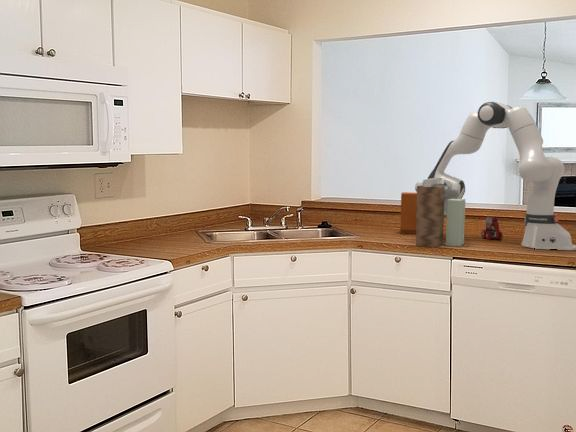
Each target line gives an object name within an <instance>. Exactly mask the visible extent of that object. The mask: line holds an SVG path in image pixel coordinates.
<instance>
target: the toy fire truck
mask: <svg viewBox="0 0 576 432" xmlns="http://www.w3.org/2000/svg"><path fill="white" fill-rule="evenodd" d="M485 220H486V221H485V222H486V224H485V225H486V226H485V229H483V230H481V235H480V236H481V238H482V239H486V240H487V241H490V240H492V239H496V240H497V241H501V240H502V239H503V232H502V231H500V224H499V222H498V221H499V219H498V218H497V217H493V216H489V215H488V216H486V218H485Z"/></svg>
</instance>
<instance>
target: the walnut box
mask: <svg viewBox="0 0 576 432" xmlns="http://www.w3.org/2000/svg"><path fill="white" fill-rule="evenodd" d="M444 192H445V186H433V187H424V185H420V186H417V192H416V193H417V212H416V235H415V246H418V247H433V248H437V247H438V248H439V247H441V246H442V245H444V223H445V222H444V219H445V217H444V216H445V215H444Z"/></svg>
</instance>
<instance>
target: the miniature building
mask: <svg viewBox="0 0 576 432" xmlns="http://www.w3.org/2000/svg"><path fill="white" fill-rule="evenodd" d="M416 212H417V192H401V194H400V230H399V234H401V235H415V236H416Z"/></svg>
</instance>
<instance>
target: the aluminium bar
mask: <svg viewBox="0 0 576 432" xmlns="http://www.w3.org/2000/svg"><path fill="white" fill-rule="evenodd" d="M423 180H424V187H433V186H437V185H441V184H440V183H441V178H431V179H428V178H427V179H423Z"/></svg>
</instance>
